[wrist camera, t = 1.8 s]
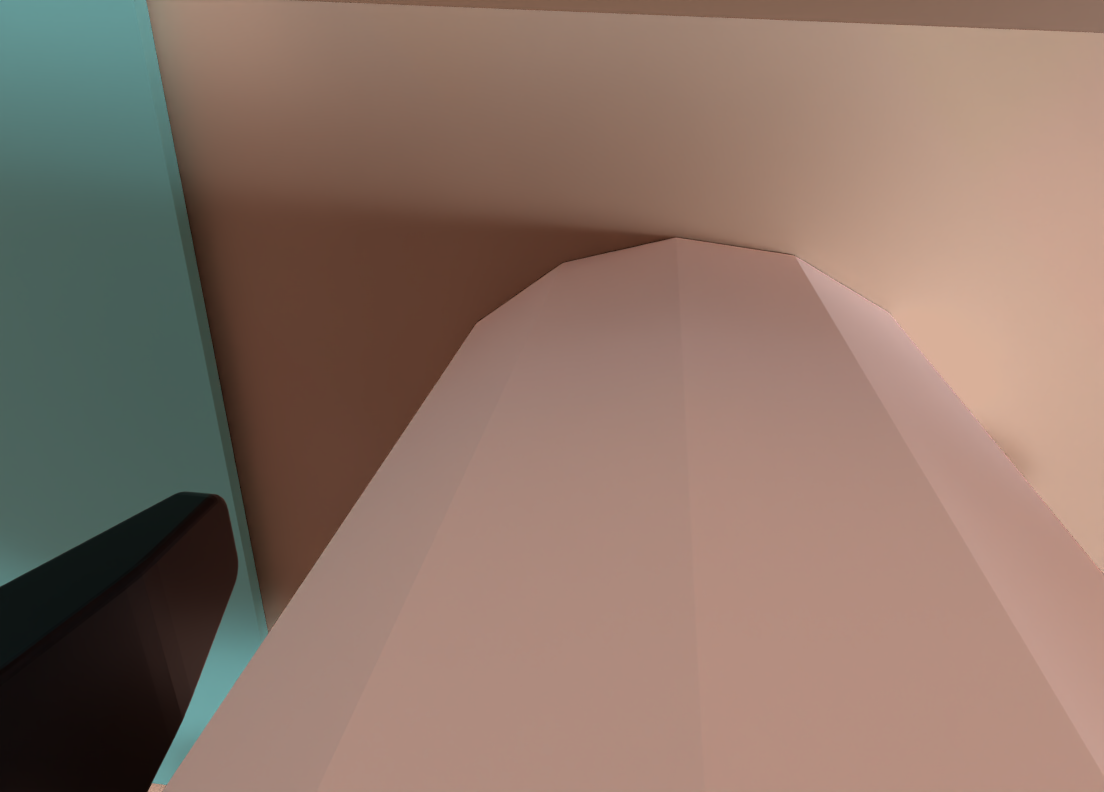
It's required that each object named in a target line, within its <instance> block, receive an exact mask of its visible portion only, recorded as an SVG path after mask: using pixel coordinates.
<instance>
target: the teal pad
mask: <svg viewBox="0 0 1104 792" xmlns="http://www.w3.org/2000/svg"><path fill="white" fill-rule="evenodd" d="M186 491H188V492H199V493H211V494H217V495H219V496H221V497H222V498H223V499H224V500H225V502H226V504H227V507H228V510H229V515H230V520H231V525H232V530H233V535H234V540H235V545H236V550H237V555H238V574H237V579H236V583H235V586H234V588H233V591H232V594H231V596H230V599H229V602H228V604H227V607H226V610H225V612H224V615H223V617H222V620H221V623H220V625H219V628H218V631H217V633H216V636H215V639H214V641H213V644H212V647H211V649H210V652H209V655H208V657H207V660H206V663H205V665H204V668H203V671H202V673H201V676H200V679H199V681H198V684H197V687H196V689H195V692H194V694H193V697H192V700H191V702H190V704H189V707H188V709H187V712H186V714H185V717H184V719H183V721H182V723H181V726H180V728H179V730H178V732H177V734H176V736H175V738H174V740H173V742H172V744H171V746H170V748H169V750H168V752H167V754H166V756H165V758H164V760H163V762H162V764H161V766H160V768H159V770H158V772H157V774H156V776H155V778H154V780H153V782H152V783H156V784H164V785H167V784H168V782H169V781H170V779H171V778H172V776H173V775H174V773H175V772H176V770H177V769H178V767H179V766H180V764H181V763H182V761H183V760H184V758H185V757H186V755H187V754H188V752H189V751H190V749H191V748H192V747H193V745H194V744H195V742H196V741H197V739H198V738H199V736H200V735H201V733H202V732H203V730H204V729H205V727H206V726H207V724H208V723H209V721H210V720H211V718H212V717H213V715H214V714H215V712H216V711H217V709H218V708H219V706H220V705H221V703H222V702H223V700H224V699H225V697H226V696H227V694H228V693H229V691H230V690H231V688H232V687H233V685H234V684H235V682H236V681H237V679H238V678H239V676H240V675H241V673H242V672H243V670H244V669H245V667H246V666H247V665H248V663H249V662H250V660H251V659H252V657H253V656H254V654H255V653H256V651H257V650H258V648H259V647H260V645H261V644H262V642H263V641H264V639H265V638H266V636H267V635H268V630H267V625H266V619H265V614H264V609H263V604H262V599H261V594H260V588H259V583H258V578H257V573H256V568H255V562H254V557H253V552H252V547H251V542H250V537H249V531H248V526H247V521H246V516H245V511H244V505H243V500H242V495H241V490H240V485H239V480H238V474H237V469H236V464H235V459H234V454H233V448H232V443H231V438H230V433H229V428H228V423H227V417H226V412H225V407H224V402H223V397H222V391H221V386H220V381H219V376H218V371H217V365H216V360H215V355H214V350H213V345H212V340H211V334H210V329H209V324H208V319H207V314H206V308H205V303H204V298H203V293H202V288H201V283H200V277H199V272H198V267H197V262H196V257H195V251H194V246H193V241H192V236H191V231H190V226H189V220H188V215H187V210H186V205H185V200H184V194H183V189H182V184H181V179H180V174H179V168H178V163H177V158H176V153H175V148H174V143H173V137H172V132H171V127H170V122H169V117H168V111H167V106H166V101H165V96H164V91H163V86H162V80H161V75H160V70H159V65H158V60H157V54H156V49H155V44H154V39H153V34H152V29H151V23H150V18H149V13H148V8H147V3H146V0H0V586H2V585H4V584H6V583H8V582H10V581H12V580H14V579H15V578H17V577H19V576H21V575H23V574H25V573H27V572H29V571H31V570H32V569H34V568H36V567H38V566H40V565H42V564H44V563H46V562H48V561H49V560H51V559H53V558H55V557H57V556H59V555H61V554H63V553H65V552H66V551H68V550H70V549H72V548H74V547H76V546H78V545H80V544H81V543H83V542H85V541H87V540H89V539H91V538H93V537H95V536H97V535H98V534H100V533H102V532H104V531H106V530H108V529H110V528H112V527H113V526H115V525H117V524H119V523H121V522H123V521H125V520H127V519H129V518H130V517H132V516H134V515H136V514H138V513H140V512H142V511H144V510H146V509H147V508H149V507H151V506H153V505H155V504H157V503H159V502H161V501H162V500H164V499H166V498H168V497H170V496H172V495H174V494H176V493H178V492H186Z"/></svg>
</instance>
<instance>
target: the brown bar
mask: <svg viewBox="0 0 1104 792" xmlns="http://www.w3.org/2000/svg"><path fill="white" fill-rule="evenodd" d="M300 1H325V2H350V3H375V4H400V5H424V6H449V7H474V8H499V9H524V10H548V11H573V12H598V13H623V14H648V15H672V16H697V17H722V18H747V19H772V20H797V21H821V22H846V23H871V24H896V25H921V26H945V27H970V28H995V29H1020V30H1045V31H1069V32H1094V33H1104V0H300Z"/></svg>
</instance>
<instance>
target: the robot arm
mask: <svg viewBox="0 0 1104 792" xmlns="http://www.w3.org/2000/svg"><path fill="white" fill-rule="evenodd" d="M237 574H238V555H237V550H236V545H235V540H234V535H233V530H232V525H231V520H230V515H229V510H228V507H227V504H226V502H225V500H224V499H223V498H222V497H221V496H219V495H217V494H211V493H199V492H188V491H186V492H178V493H176V494H174V495H172V496H170V497H168V498H166V499H164V500H162V501H161V502H159V503H157V504H155V505H153V506H151V507H149V508H147V509H146V510H144V511H142V512H140V513H138V514H136V515H134V516H132V517H130V518H129V519H127V520H125V521H123V522H121V523H119V524H117V525H115V526H113V527H112V528H110V529H108V530H106V531H104V532H102V533H100V534H98V535H97V536H95V537H93V538H91V539H89V540H87V541H85V542H83V543H81V544H80V545H78V546H76V547H74V548H72V549H70V550H68V551H66V552H65V553H63V554H61V555H59V556H57V557H55V558H53V559H51V560H49V561H48V562H46V563H44V564H42V565H40V566H38V567H36V568H34V569H32V570H31V571H29V572H27V573H25V574H23V575H21V576H19V577H17V578H15V579H14V580H12V581H10V582H8V583H6V584H4V585H2V586H0V792H148V790H149V788H150V786H151V784H152V782H153V780H154V778H155V776H156V774H157V772H158V770H159V768H160V766H161V764H162V762H163V760H164V758H165V756H166V754H167V752H168V750H169V748H170V746H171V744H172V742H173V740H174V738H175V736H176V734H177V732H178V730H179V728H180V726H181V723H182V721H183V719H184V717H185V714H186V712H187V709H188V707H189V704H190V702H191V700H192V697H193V694H194V692H195V689H196V687H197V684H198V681H199V679H200V676H201V673H202V671H203V668H204V665H205V663H206V660H207V657H208V655H209V652H210V649H211V647H212V644H213V641H214V639H215V636H216V633H217V631H218V628H219V625H220V623H221V620H222V617H223V615H224V612H225V610H226V607H227V604H228V602H229V599H230V596H231V594H232V591H233V588H234V586H235V583H236V579H237Z"/></svg>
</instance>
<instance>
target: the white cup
mask: <svg viewBox="0 0 1104 792" xmlns="http://www.w3.org/2000/svg"><path fill="white" fill-rule="evenodd" d="M162 792H1104V574H1103V573H1102V572H1101V571H1100V569H1099V568H1098V567H1097V566H1096V564H1095V563H1094V562H1093V561H1092V560H1091V558H1090V557H1089V556H1088V555H1087V553H1086V552H1085V551H1084V550H1083V549H1082V547H1081V546H1080V545H1079V544H1078V542H1077V541H1076V540H1075V539H1074V538H1073V536H1072V535H1071V534H1070V533H1069V531H1068V530H1067V529H1066V528H1065V527H1064V525H1063V524H1062V523H1061V522H1060V520H1059V519H1058V518H1057V517H1056V516H1055V514H1054V513H1053V512H1052V511H1051V509H1050V508H1049V507H1048V506H1047V505H1046V503H1045V502H1044V501H1043V500H1042V498H1041V497H1040V496H1039V495H1038V494H1037V492H1036V491H1035V490H1034V489H1033V487H1032V486H1031V485H1030V484H1029V483H1028V481H1027V480H1026V479H1025V478H1024V476H1023V475H1022V474H1021V473H1020V472H1019V470H1018V469H1017V468H1016V467H1015V465H1014V464H1013V463H1012V462H1011V461H1010V459H1009V458H1008V457H1007V456H1006V454H1005V453H1004V452H1003V451H1002V450H1001V448H1000V447H999V446H998V445H997V443H996V442H995V441H994V440H993V439H992V437H991V436H990V435H989V434H988V432H987V431H986V430H985V429H984V428H983V426H982V425H981V424H980V423H979V421H978V420H977V419H976V418H975V417H974V415H973V414H972V413H971V412H970V410H969V409H968V408H967V407H966V406H965V404H964V403H963V402H962V401H961V399H960V398H959V397H958V396H957V395H956V393H955V392H954V391H953V390H952V388H951V387H950V386H949V385H948V384H947V382H946V381H945V380H944V379H943V377H942V376H941V375H940V374H939V373H938V371H937V370H936V369H935V368H934V366H933V365H932V364H931V363H930V362H929V360H928V359H927V358H926V357H925V355H924V354H923V353H922V352H921V351H920V349H919V348H918V347H917V346H916V344H915V343H914V342H913V341H912V340H911V338H910V337H909V336H908V335H907V333H906V332H905V331H904V330H903V329H902V327H901V326H900V325H899V324H898V322H897V321H896V320H895V319H894V318H893V316H892V315H891V314H890V313H889V312H887V311H885V310H884V309H882V308H880V307H879V306H877V305H876V304H874V303H872V302H871V301H869V300H867V299H866V298H864V297H862V296H861V295H859V294H857V293H856V292H854V291H852V290H851V289H849V288H847V287H846V286H844V285H842V284H841V283H839V282H838V281H836V280H834V279H833V278H831V277H829V276H828V275H826V274H824V273H823V272H821V271H819V270H818V269H816V268H814V267H813V266H811V265H809V264H808V263H806V262H804V261H803V260H801V259H800V258H798V257H796V256H795V255H789V254H782V253H775V252H769V251H762V250H756V249H749V248H743V247H736V246H729V245H723V244H716V243H710V242H703V241H697V240H690V239H683V238H677V237H676V238H672V239H667V240H663V241H658V242H654V243H649V244H645V245H640V246H636V247H631V248H627V249H622V250H618V251H614V252H609V253H605V254H600V255H596V256H591V257H587V258H582V259H578V260H573V261H569V262H564V263H562V264H560V265H559V266H557V267H556V268H555V269H553V270H552V271H550V272H549V273H547V274H546V275H545V276H543V277H542V278H540V279H539V280H537V281H536V282H535V283H533V284H532V285H530V286H529V287H527V288H526V289H525V290H523V291H522V292H520V293H519V294H517V295H516V296H514V297H513V298H512V299H510V300H509V301H507V302H506V303H504V304H503V305H502V306H500V307H499V308H497V309H496V310H494V311H493V312H492V313H490V314H489V315H487V316H486V317H484V318H483V319H482V320H480V321H479V322H477V323H476V325H475V326H474V328H473V329H472V331H471V332H470V334H469V335H468V337H467V338H466V339H465V341H464V342H463V344H462V345H461V347H460V348H459V350H458V351H457V353H456V354H455V356H454V357H453V359H452V360H451V362H450V363H449V365H448V366H447V368H446V369H445V371H444V372H443V374H442V375H441V377H440V378H439V380H438V381H437V383H436V384H435V386H434V387H433V389H432V390H431V392H430V393H429V395H428V396H427V398H426V399H425V401H424V402H423V404H422V405H421V407H420V408H419V410H418V411H417V413H416V414H415V416H414V417H413V419H412V420H411V421H410V423H409V424H408V426H407V427H406V429H405V430H404V432H403V433H402V435H401V436H400V438H399V439H398V441H397V442H396V444H395V445H394V447H393V448H392V450H391V451H390V453H389V454H388V456H387V457H386V459H385V460H384V462H383V463H382V465H381V466H380V468H379V469H378V471H377V472H376V474H375V475H374V477H373V478H372V480H371V481H370V483H369V484H368V486H367V487H366V489H365V490H364V492H363V493H362V495H361V496H360V498H359V499H358V501H357V502H356V503H355V505H354V506H353V508H352V509H351V511H350V512H349V514H348V515H347V517H346V518H345V520H344V521H343V523H342V524H341V526H340V527H339V529H338V530H337V532H336V533H335V535H334V536H333V538H332V539H331V541H330V542H329V544H328V545H327V547H326V548H325V550H324V551H323V553H322V554H321V556H320V557H319V559H318V560H317V562H316V563H315V565H314V566H313V568H312V569H311V571H310V572H309V574H308V575H307V577H306V578H305V580H304V581H303V583H302V584H301V585H300V587H299V588H298V590H297V591H296V593H295V594H294V596H293V597H292V599H291V600H290V602H289V603H288V605H287V606H286V608H285V609H284V611H283V612H282V614H281V615H280V617H279V618H278V620H277V621H276V623H275V624H274V626H273V627H272V629H271V630H270V632H269V633H268V635H267V636H266V638H265V639H264V641H263V642H262V644H261V645H260V647H259V648H258V650H257V651H256V653H255V654H254V656H253V657H252V659H251V660H250V662H249V663H248V665H247V666H246V667H245V669H244V670H243V672H242V673H241V675H240V676H239V678H238V679H237V681H236V682H235V684H234V685H233V687H232V688H231V690H230V691H229V693H228V694H227V696H226V697H225V699H224V700H223V702H222V703H221V705H220V706H219V708H218V709H217V711H216V712H215V714H214V715H213V717H212V718H211V720H210V721H209V723H208V724H207V726H206V727H205V729H204V730H203V732H202V733H201V735H200V736H199V738H198V739H197V741H196V742H195V744H194V745H193V747H192V748H191V749H190V751H189V752H188V754H187V755H186V757H185V758H184V760H183V761H182V763H181V764H180V766H179V767H178V769H177V770H176V772H175V773H174V775H173V776H172V778H171V779H170V781H169V782H168V784H167V785H166V787H165V788H164V790H163V791H162Z"/></svg>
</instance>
